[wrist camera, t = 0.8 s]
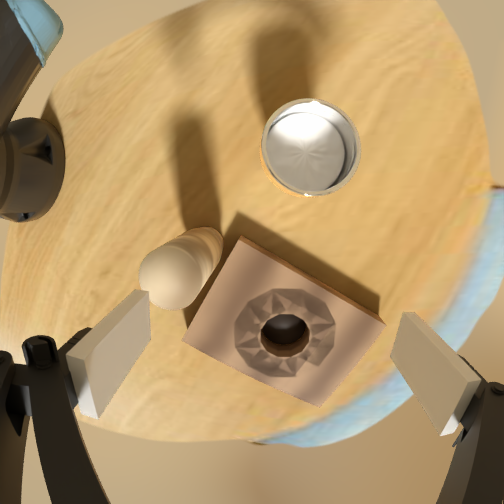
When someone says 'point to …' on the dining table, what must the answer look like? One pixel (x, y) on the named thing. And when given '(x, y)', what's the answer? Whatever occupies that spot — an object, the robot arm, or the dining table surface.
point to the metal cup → (309, 148)
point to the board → (282, 325)
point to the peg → (181, 267)
